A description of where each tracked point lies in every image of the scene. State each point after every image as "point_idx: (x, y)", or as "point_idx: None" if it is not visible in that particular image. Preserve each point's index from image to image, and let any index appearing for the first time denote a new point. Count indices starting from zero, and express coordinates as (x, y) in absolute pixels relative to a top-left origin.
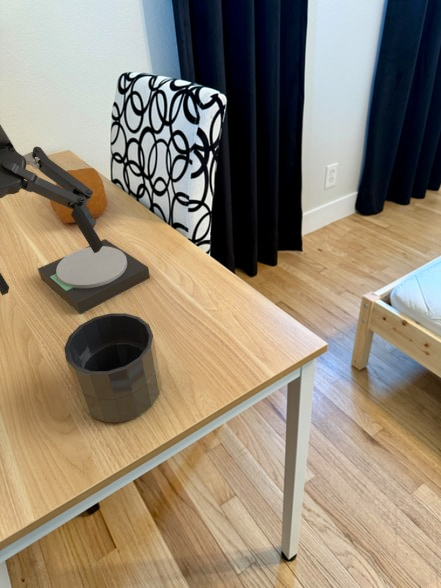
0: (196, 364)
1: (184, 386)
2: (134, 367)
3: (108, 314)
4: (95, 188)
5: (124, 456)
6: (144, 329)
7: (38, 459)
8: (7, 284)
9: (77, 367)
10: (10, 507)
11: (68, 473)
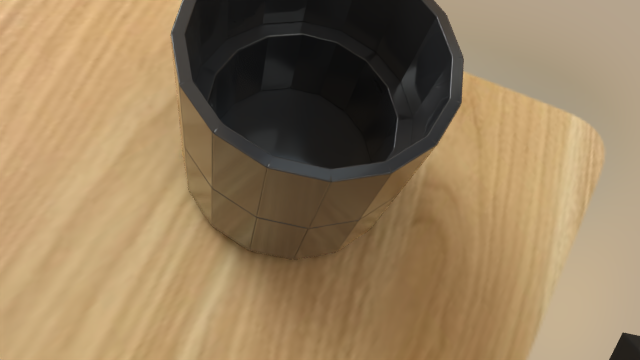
0: (108, 61)
1: None
2: None
3: (221, 133)
4: None
5: None
6: (196, 19)
7: (520, 192)
8: (634, 347)
9: (456, 54)
10: (596, 160)
11: (493, 122)
